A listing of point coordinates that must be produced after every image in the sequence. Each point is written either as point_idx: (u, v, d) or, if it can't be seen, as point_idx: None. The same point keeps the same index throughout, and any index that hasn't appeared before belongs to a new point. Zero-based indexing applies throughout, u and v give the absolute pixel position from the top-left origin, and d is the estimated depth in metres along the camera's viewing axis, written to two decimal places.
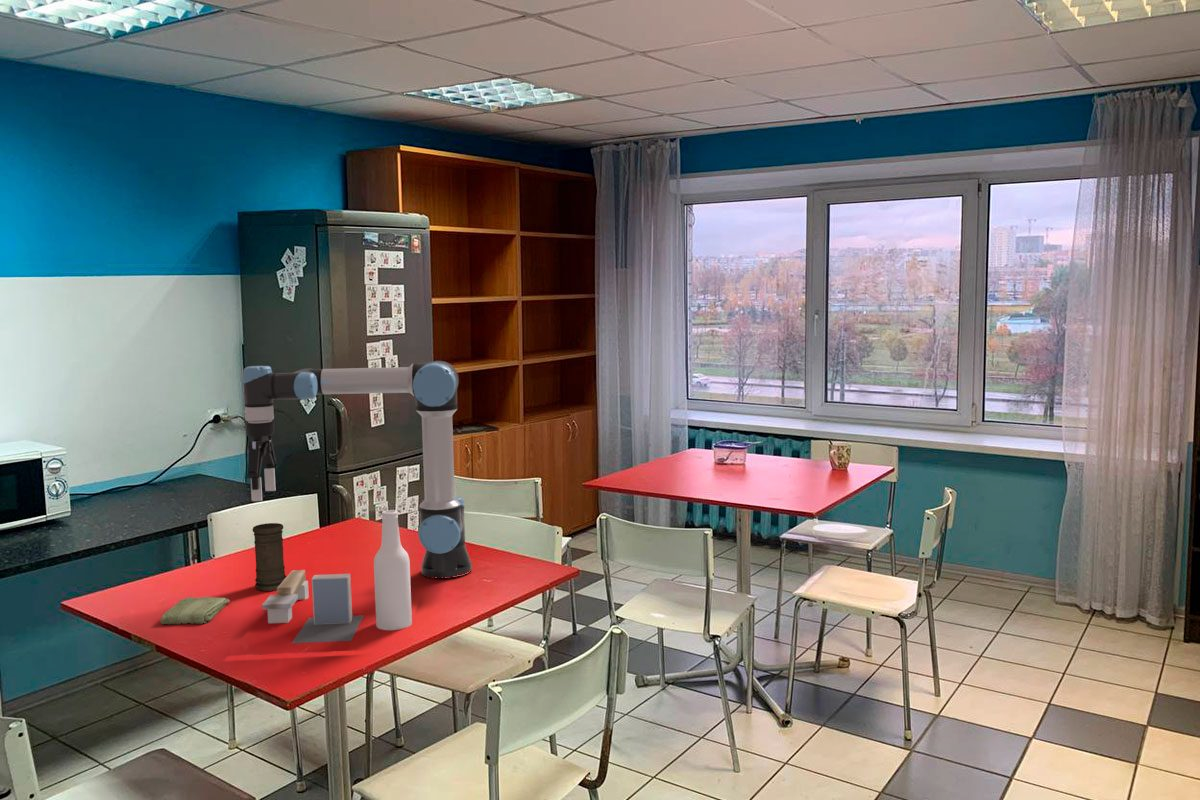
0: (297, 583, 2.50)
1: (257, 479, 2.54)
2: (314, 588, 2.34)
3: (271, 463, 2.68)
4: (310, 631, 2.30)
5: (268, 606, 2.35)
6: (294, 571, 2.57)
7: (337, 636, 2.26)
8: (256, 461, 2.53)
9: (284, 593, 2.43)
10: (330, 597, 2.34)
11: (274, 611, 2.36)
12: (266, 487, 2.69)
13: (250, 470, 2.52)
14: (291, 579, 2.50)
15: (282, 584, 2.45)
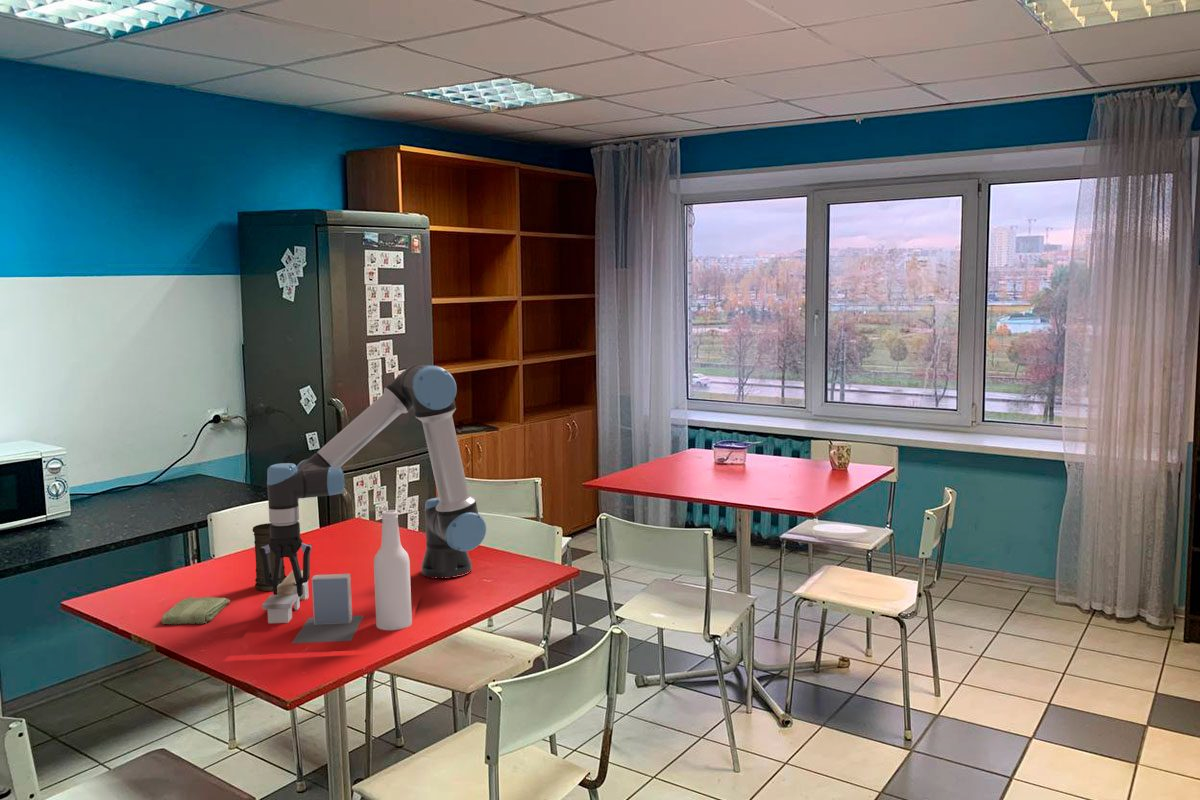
0: None
1: (275, 587, 2.46)
2: (314, 588, 2.34)
3: None
4: (310, 631, 2.30)
5: (268, 606, 2.35)
6: None
7: (337, 636, 2.26)
8: None
9: (284, 593, 2.43)
10: (330, 597, 2.34)
11: (274, 611, 2.36)
12: None
13: None
14: (291, 579, 2.50)
15: (282, 584, 2.45)
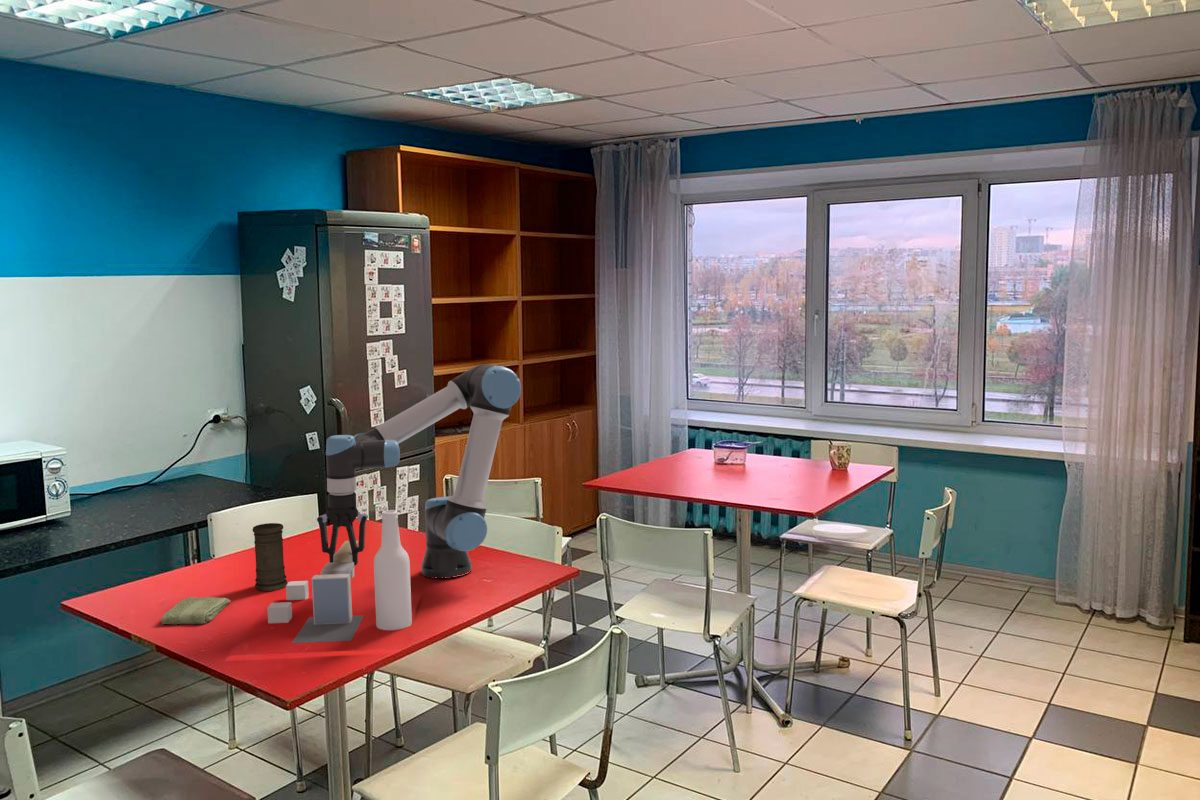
0: None
1: (331, 555, 2.52)
2: (314, 588, 2.34)
3: None
4: (310, 631, 2.30)
5: (326, 572, 2.41)
6: (347, 541, 2.64)
7: (337, 636, 2.26)
8: None
9: (340, 561, 2.49)
10: (330, 597, 2.34)
11: (274, 611, 2.36)
12: None
13: None
14: (346, 548, 2.56)
15: (338, 553, 2.52)
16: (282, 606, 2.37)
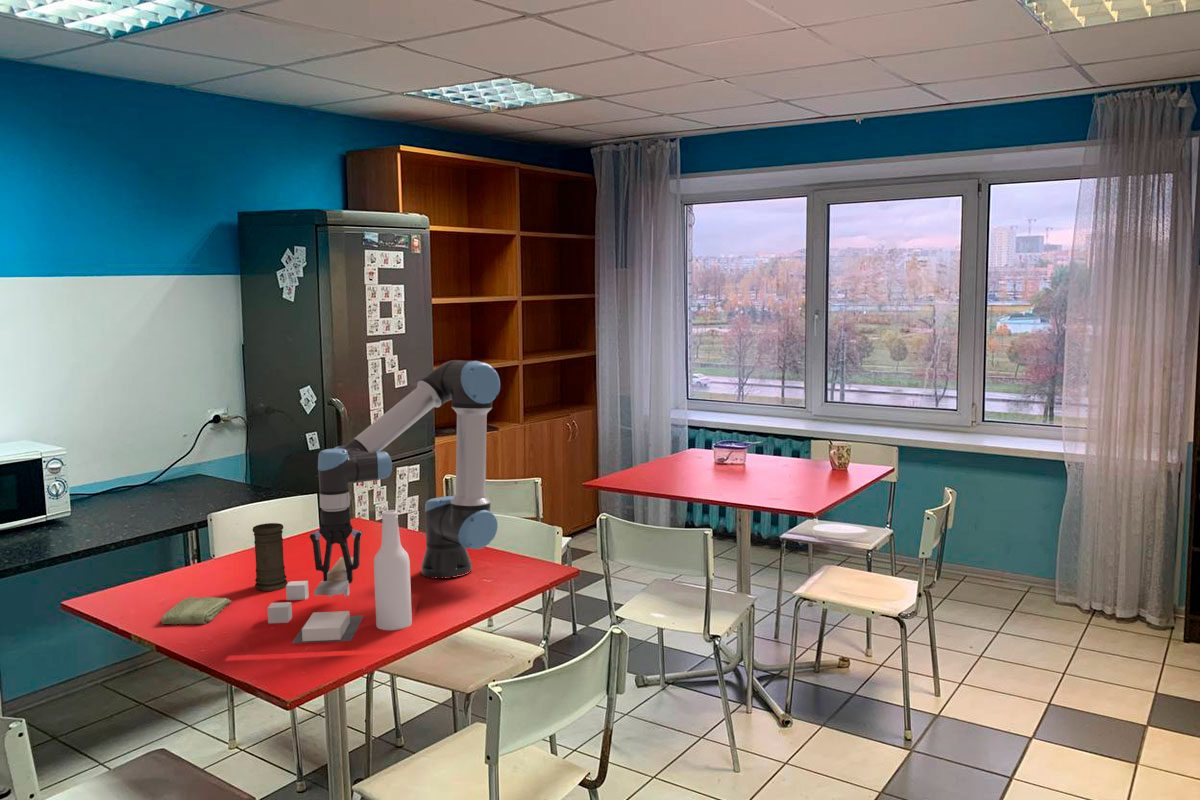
0: None
1: (325, 573, 2.44)
2: None
3: (345, 563, 2.44)
4: None
5: (320, 592, 2.33)
6: (342, 558, 2.55)
7: None
8: None
9: (334, 579, 2.41)
10: None
11: (274, 611, 2.36)
12: None
13: None
14: (341, 566, 2.48)
15: (332, 571, 2.43)
16: (282, 606, 2.37)
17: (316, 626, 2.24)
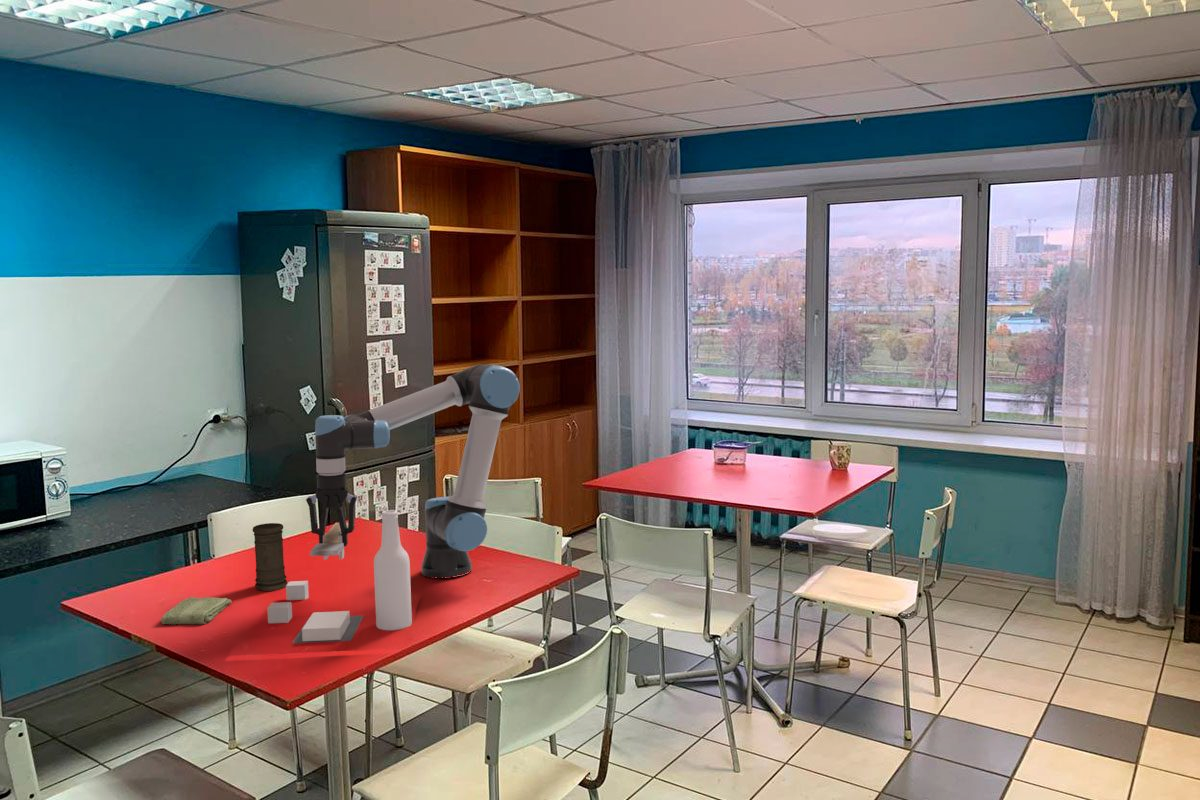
0: None
1: (321, 536, 2.50)
2: None
3: (340, 527, 2.50)
4: None
5: (316, 552, 2.39)
6: (338, 523, 2.62)
7: None
8: None
9: (330, 541, 2.47)
10: None
11: (274, 611, 2.36)
12: None
13: None
14: (336, 530, 2.54)
15: (328, 534, 2.50)
16: (282, 606, 2.37)
17: (316, 626, 2.24)
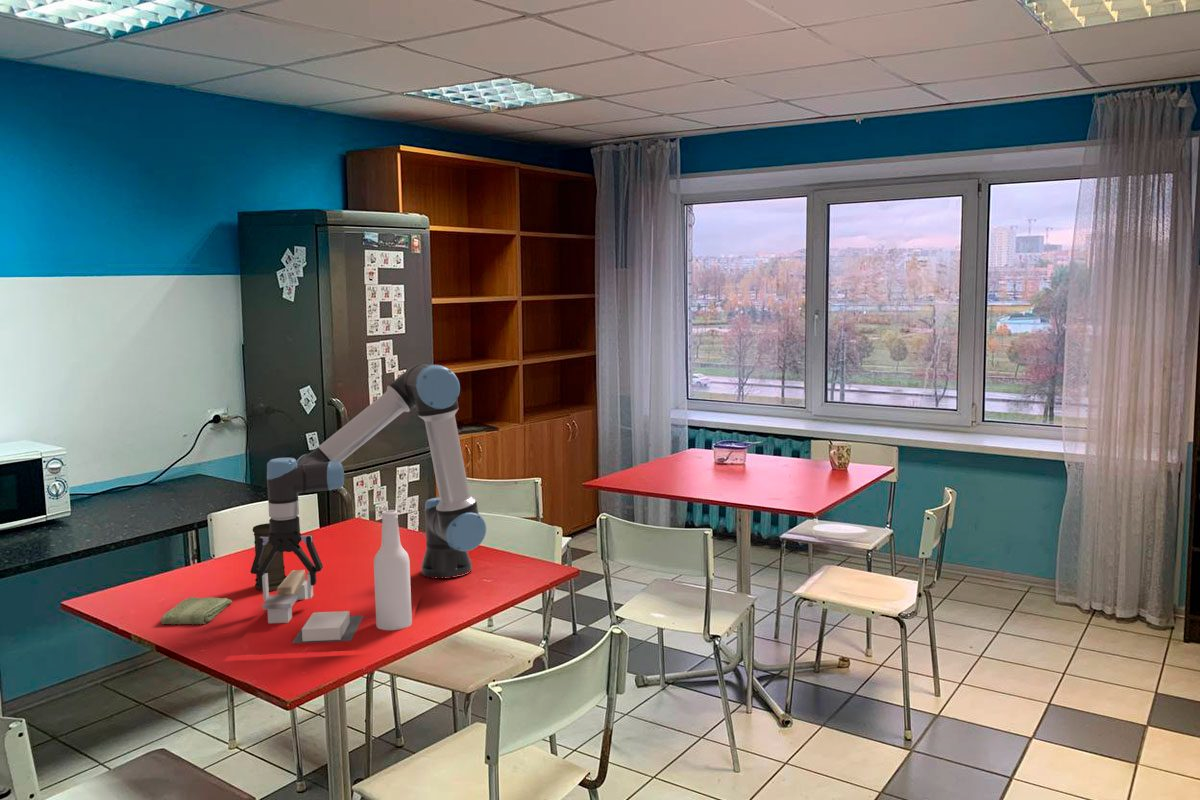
0: (297, 583, 2.50)
1: (260, 577, 2.45)
2: None
3: None
4: None
5: (268, 606, 2.35)
6: (294, 571, 2.57)
7: None
8: None
9: (284, 593, 2.43)
10: None
11: (274, 611, 2.36)
12: None
13: None
14: (291, 579, 2.50)
15: (282, 584, 2.45)
16: None
17: (316, 626, 2.24)
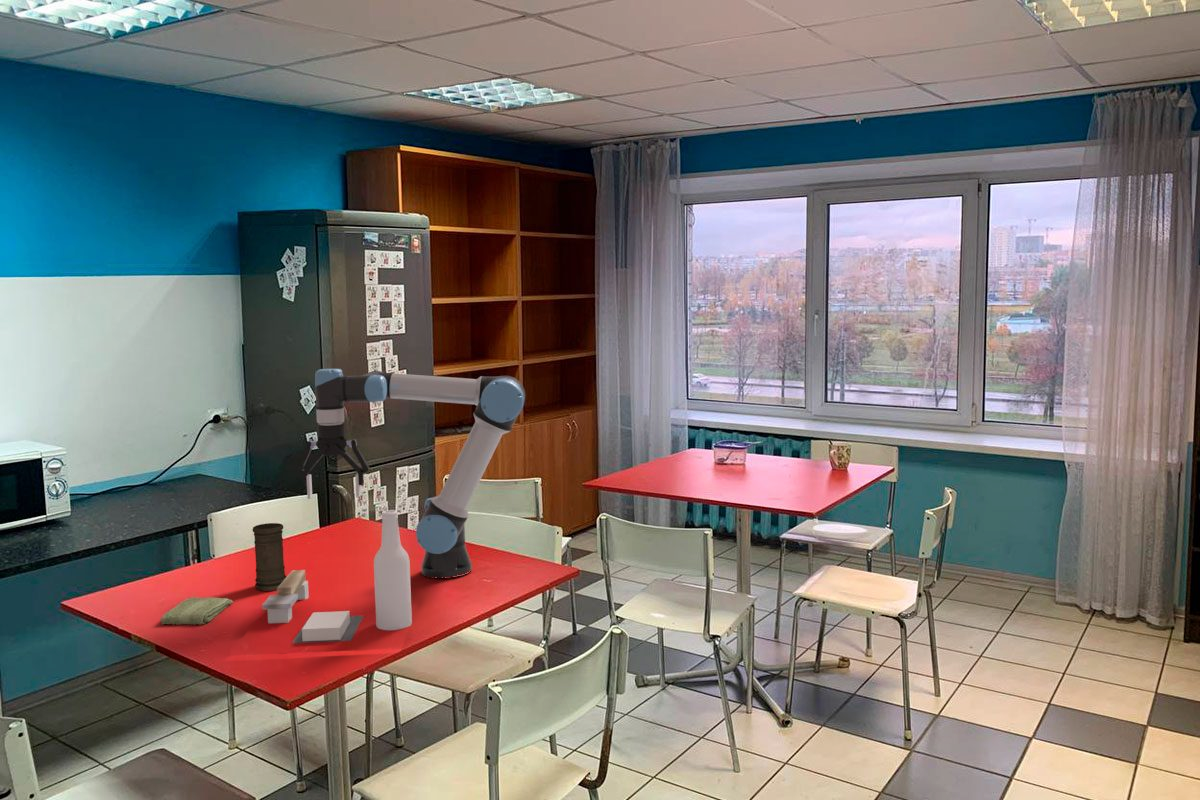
0: (297, 583, 2.50)
1: (304, 477, 2.63)
2: None
3: (354, 468, 2.64)
4: None
5: (268, 606, 2.35)
6: (294, 571, 2.57)
7: None
8: None
9: (284, 593, 2.43)
10: None
11: (274, 611, 2.36)
12: None
13: None
14: (291, 579, 2.50)
15: (282, 584, 2.45)
16: None
17: (316, 626, 2.24)
